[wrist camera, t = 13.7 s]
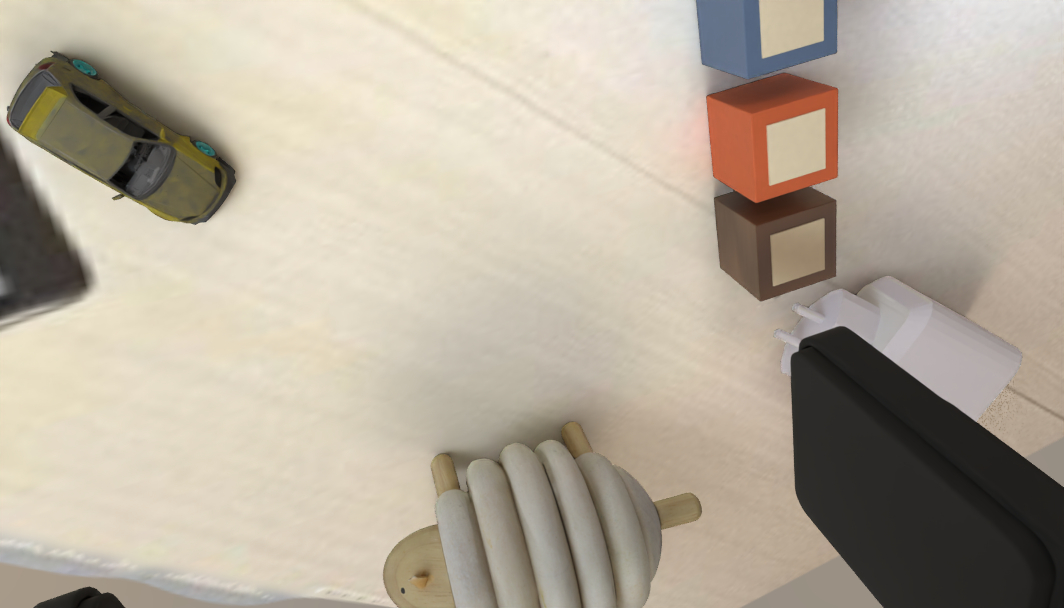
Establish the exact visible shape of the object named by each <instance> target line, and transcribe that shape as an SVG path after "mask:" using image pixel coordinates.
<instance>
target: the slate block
mask: <svg viewBox="0 0 1064 608" xmlns="http://www.w3.org/2000/svg"><path fill="white" fill-rule="evenodd" d="M696 3H697V14H698V25H699V36H700V47H701V58H702V64H703V65H706V66H709V67H712V68H715V69H718V70H721V71H724V72H727V73H730V74H733V75H736V76H739V77H742V78H745V79H751V78H754V77H757V76H761V75H764V74H767V73H771V72H774V71H778V70H781V69H784V68H788V67H791V66H794V65H798V64H801V63H805V62H808V61H811V60H815V59H818V58H821V57H825V56H828V55H832V54H835V53H837V0H696Z"/></svg>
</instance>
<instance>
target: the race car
mask: <svg viewBox="0 0 1064 608" xmlns="http://www.w3.org/2000/svg"><path fill="white" fill-rule="evenodd" d="M51 52H52V51H51ZM52 53H53V54H54V55H53V56H52V57H48V58H45V59H43V60H42V61H40V62H39V63H38V64H37V65H36V64H35V65H36V66H35V67H34V68H33V69H32V70H31V72H30V73H29V74H28V75H27V77H26V78H25V79H24V81H23V82H22V84H21V85H20V87H19V88H18V90H17V92H16V94H15V96H14V98H13V100H12V102H11V105H10V106H7V111H8V114H7V122H8V124H9V125H10V126H11V127H12V128H13V129H14V130H15V131H17V132H18V133H20V134H21V135H22V136H24V137H25V138H26V139H27V140H29V141H30V142H32V143H34V144H36V145H37V146H39V147H41V148H43V149H44V150H46V151H48V152H49V153H51V154H52V155H54V156H56V157H57V158H59V159H61V160H62V161H64V162H66V163H68V164H69V165H71V166H73V167H74V168H76V169H78V170H80V171H82V172H83V173H85V174H87V175H89V176H90V177H92V178H94V179H96V180H97V181H99V182H101V183H103V184H105V185H106V186H108V187H110V188H112V189H114V190H115V191H117V192H119V193H121V194H122V195H121V194H119V195H117V196H115V197H113V198H112V199H113V200H117V199H121V198H122V197H124V196H126V197H128V198H130V199H132V200H134V201H135V202H137V203H139V204H141V205H143V206H145V207H147V208H148V209H149V210H150V211H151V212H152V213H154V214H155V215H157V216H159V217H161V218H163V219H165V220H168V221H177V222H184V223H191V224H194V225H196V224H198V223H201V222H206V221H207V220H208V219H209V218H210V217H211V216H212V215H213V214H214V213H215V212H216V211H217V210H218V209H219V207H220V206H221V205H222V204H223V202H224V201H225V199H226V198H227V196H228V195H229V193H230V191H231V190H232V188H233V186H234V184H235V182H236V179H235V176H234V174H235V170H234V169H233V168H232V167H231V166H230V165H229V164H227V163H226V162H225V161H224V160H222V159H221V158H220V157H219V158H218V160H216V159H215V158H216V152H215V151H214V150H213V149H212V148H211V147H210V146H209V145H207V144H206V143H204V142H201V141H198V140H196V141H193V142H192V143H191V142H190V137H188V136H181V135H178V134H177V133H175V132H174V131H172V130H171V129H169V128H168V127H166V126H165V125H163V124H161V123H160V122H158V121H157V120H155V119H154V118H152V117H151V116H149V115H148V114H146V113H145V112H143V111H142V110H140V109H139V108H137V107H136V106H134V105H133V104H131V103H130V102H128V101H127V100H125V99H124V98H123V97H122V96H121V95H120V94H119V93H117V92H116V91H115V90H114V89H113V88H112V87H110V86H109V85H108V84H107V83H106V82H105V81H104V80H102V79H100V80H97V78H98V73H97V71H96V70H95V69H94V68H93V67H92V66H90V65H89V64H87V63H85V62H83V61H81V60H78V59H70V60H69V59H67V58H66V57H64V56H62V55H61V54H59V53H58V52H52ZM67 61H68V62H67Z"/></svg>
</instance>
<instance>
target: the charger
mask: <svg viewBox="0 0 1064 608" xmlns="http://www.w3.org/2000/svg"><path fill="white" fill-rule="evenodd" d="M792 311H793V312H796V313H798V314H800V315H802V316H803V317H802V318H801V319H800V321H799V322H798V324H797V325H796V326H795V328H794V329H793V331H792V332H791V333H787V332H785V331H783V330H781V329H777V330H776V331H775V332H774V337H775V338H778V339H780V340H782V341H784V342H786V344H785V348H784V351H783V355H782V358H781V373H783V374H786V375H788V376H790V377H791V366H790V360H791V356H792V354H793V353H795V352H798V351H799V344H800V342H801V340H802V339H804V338H806V337H809V336H812V335H815V334H817V333H820V332H823V331H826V330H829V329H832V328H835V327H838V326H845V327H847V328H849V329H850V330H852V331H853V332H855V333H856V334H857V335H859V336H860V337H861V338H863V339H864V340H865V341H867V342H868V343H869V344H871V345H872V346H873V347H875V348H876V349H877V350H879V351H880V352H881V353H883V354H884V355H885V356H887V357H888V358H889V359H891V360H892V361H893V362H895V363H896V364H897V365H899V366H900V367H901V368H903V369H904V370H905V371H906V372H908V373H909V374H910V375H912V376H913V377H914V378H916V379H917V380H918V381H920V382H921V383H922V384H924V385H925V386H926V387H928V388H929V389H930V390H932V391H933V392H934V393H936V394H937V395H938V396H940V397H941V398H943V399H944V400H946V401H948V402H950V403H951V404H953V405H954V406H956V407H957V408H958V409H960V410H961V411H962V412H964V413H965V414H966V415H968V416H969V417H970V418H972V419H973V420H974V421H977V420H978V419H979V417H980V416H981V415H982V414H983V413H984V412H985V410H986V409H987V408H988V407H989V406H990V405H991V403H992V402H993V401H994V400H995V399H996V397H997V396H998V395H999V394H1000V393H1001V392H1002V390H1003V389H1004V388H1005V387H1006V386H1007V385H1008V383H1009V382H1010V381H1011V380H1012V378H1013V377H1014V376H1015V374H1016V373H1017V371H1018V369H1019V367H1020V365H1021V361H1022V352H1021V351H1020V350H1019V349H1018V348H1017V347H1015V346H1013V345H1012V344H1010V343H1008V342H1006V341H1005V340H1003V339H1001V338H1000V337H998V336H996V335H995V334H993V333H991V332H990V331H988V330H986V329H985V328H983V327H981V326H980V325H978V324H976V323H974V322H972V321H971V320H969V319H967V318H965V317H963V316H962V315H960V314H958V313H956V312H954V311H953V310H951V309H949V308H947V307H945V306H944V305H942V304H940V303H938V302H936V301H935V300H933V299H931V298H929V297H928V296H926V295H924V294H922V293H920V292H919V291H917V290H915V289H913V288H911V287H910V286H908V285H906V284H904V283H902V282H901V281H899V280H897V279H895V278H893V277H892V276H885V277H882V278H880V279H878V280H876V281H874V282H872V283H870V284H868V285H866V286H864V287H863V288H862V289H861V290H860V291H859V292H858V294H857V295H854V294H852V293H850V292H848V291H846V290H844V289H838V290H834V291H831V292H829V293H828V294H826V295H825V296H823V297H822V298H820V299H819V300H818V301H816V302H815V303H813V304H812V305H810V307H809V308H808V307H806V306H804V305H801V304H799V303H796V304H794V305H793V307H792Z"/></svg>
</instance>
